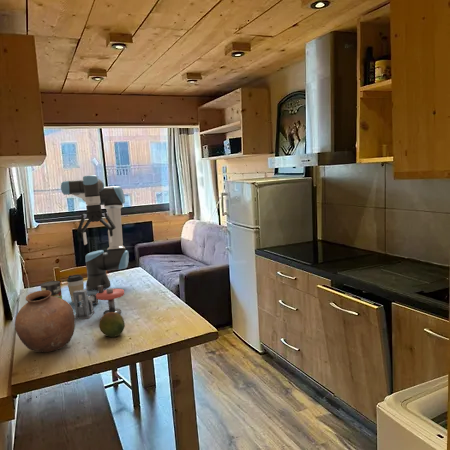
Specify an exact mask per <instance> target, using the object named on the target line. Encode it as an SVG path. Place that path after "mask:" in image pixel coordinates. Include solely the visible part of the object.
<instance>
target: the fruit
mask: <svg viewBox="0 0 450 450" xmlns="http://www.w3.org/2000/svg"><path fill="white" fill-rule="evenodd" d="M98 327H99V330H100V332H101V334H103V335H105V336H107V337H110V338H115V337H119V336H120V335H121V334H123V331H124V330H125V328H126V326H125V320H124V318H123V316H122V315H121V313H120V314H118V313H116V312H109V313H106V314H105V315H104V314H103V315H102V317H101V318H100V320H99V322H98Z"/></svg>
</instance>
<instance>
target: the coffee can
mask: <svg viewBox="0 0 450 450" xmlns="http://www.w3.org/2000/svg"><path fill="white" fill-rule="evenodd" d="M42 290H49V291H50V292H51V296H53V297H58V298H61V299H63V294H62V286H61V280H60V281H59V280H51V281H45V282H42V283H40V291H42Z"/></svg>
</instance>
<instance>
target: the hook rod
mask: <svg viewBox="0 0 450 450" xmlns="http://www.w3.org/2000/svg"><path fill="white" fill-rule="evenodd" d="M84 290H87V289H86V288H84ZM96 294H97V293H96ZM96 294H90V295H87V296H88V300H92V304H93V305H95V304H99V300H98V299H96ZM81 300H83V296H82V299H81Z"/></svg>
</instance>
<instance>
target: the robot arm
mask: <svg viewBox="0 0 450 450" xmlns="http://www.w3.org/2000/svg"><path fill="white" fill-rule="evenodd" d="M60 190H61V192H62V194H63V195H64V196H65V195H66V196H67V195H68V196H69V195H72V196H75V197H77V198H79V199H81V200H82V201H83V202H85V205H86V206H85V209H86V214H85V213H83V214H81V215H80V221H79V224H78V227H77V229H76V230H77V231H76V232H78V233H80V236H81V239H83V245H84V246H86V245H87V244H88V239H87V232H86V229H87V228H88V227H89V226H90V224H91V223H95V222H100V223H101V224H102V225H103V226H104V227H105V228H106V229H107V235H108V236H107V237H108V245H109V247H107V249H106V251H104V249H99V250H96V251H95V250H94V251H91V252H89V253H87V254H86V255H85V266H86V274H87V278H86V284H85V289H86V290H87V291H98V287H97V286H99V285H103V289H104V288H105V289H108V288H110V287H111V284H112V283H111V281H110V278H109V276H108V274H107V271H114V270H115V271H116V270H124V269H127V268H128V266H129V258H130V254H129V250H126V247H125V246H124V245H123V244H124V241H123V227H122V213H121V211H122V210H121V209H122V208H123V204H125V202H126V198H125V193H124V190H123V188H122V186H120V185H112V186H105V183H104V181H103V180H102V179H100V178H98V176H97V175H96V174H95V175H84V176H83V177H82V179H75V180H66V181H65V180H64V181H62V182H61V184H60ZM102 206H103V207H104V208H105V210H106V212H102V210H103V209H102ZM103 217H104V218H105V220H106V221H105V220H104V218H103ZM86 218H87V219H88V220H87V221H86V222H85V220H86ZM84 222H85V223H84ZM105 289H104V290H105Z"/></svg>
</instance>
